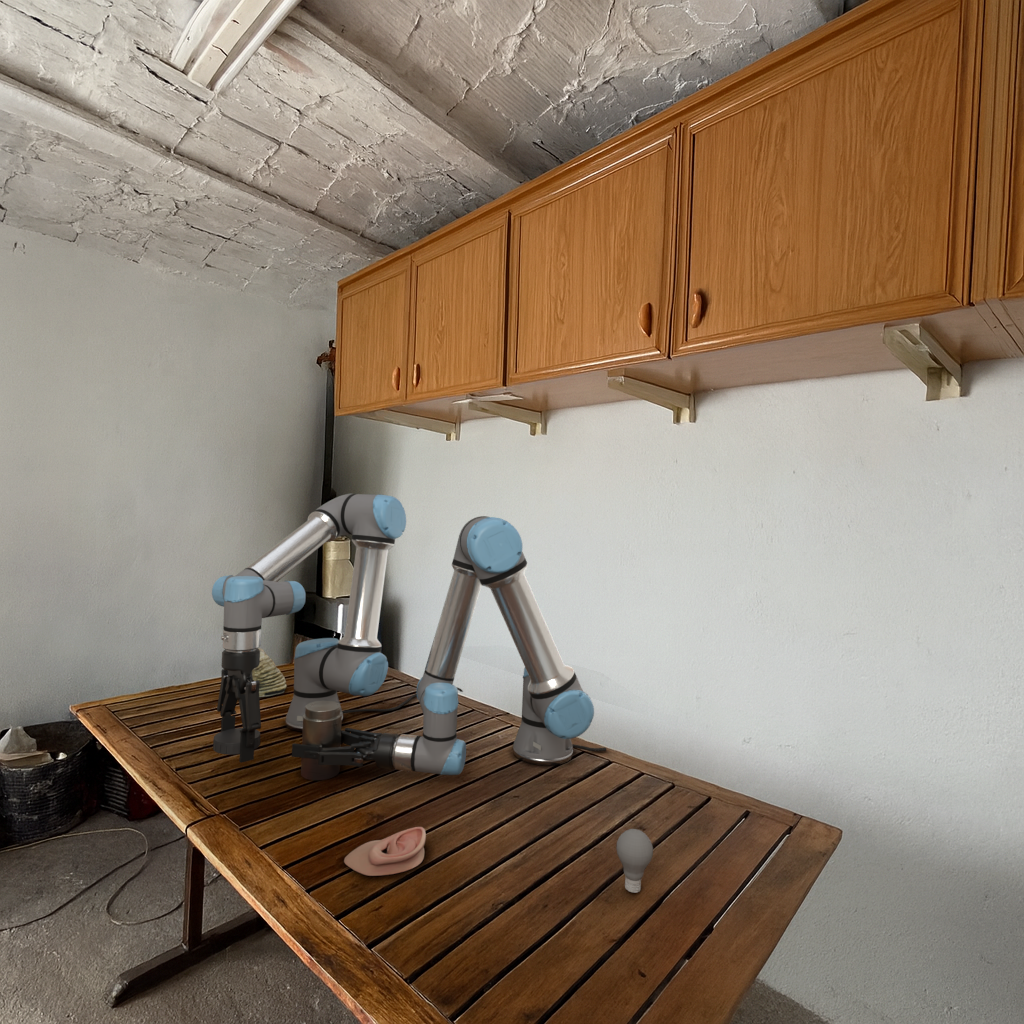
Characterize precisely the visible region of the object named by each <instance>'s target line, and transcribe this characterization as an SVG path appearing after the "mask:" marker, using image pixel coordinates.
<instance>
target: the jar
mask: <svg viewBox="0 0 1024 1024" xmlns="http://www.w3.org/2000/svg"><path fill="white" fill-rule="evenodd" d="M340 708H341V709H342V706H341V703H340V704H339V703H338V702H335V701H316V702H312V703H309V704H307V705H306V707H305V714H304V715H303V732H302V738H301V739H302V740H301V744H305V745H315V746H320V745H322V748H333V747H342V746H341V745H342V744H341V730H342V723H343V722H342V713H341V712H340ZM341 722H342V723H341ZM300 761H301V763H300V764H301V765H300V768H301V769H300V775H301V777H302V778H303V779H306V780H309V781H325V780H330V779H332V778H334V777H336V776H338V775H339V773H340V769H341V765H318V759H309V758H301V760H300Z"/></svg>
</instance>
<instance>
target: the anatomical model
mask: <svg viewBox="0 0 1024 1024" xmlns="http://www.w3.org/2000/svg"><path fill="white" fill-rule="evenodd" d="M426 839H427V834H426V829H425V827H423V826H415V827H411V828H407V829H404V830H401V831H398V832H396V833H394V834H392V835H389V836H387V837H385V838H383V839H376V840H370V841H368V842H365V843H363V844H361V845H359V846H357V847H356V848H355V849H353V850H352V851H350V852H349V853H348V854H347V855H346V856H345V857H344V859H343V863H344V865H346V866H347V867H348V868H350V869H352V870H353V871H355V872H356V873H359V874H361V875H364V876H369V877H377V876H389V875H394V874H395V875H396V874H399V873H403V872H407V871H409V870H412V869H414V868H416V867H418V866H419V865H421V863H422V862H423V860H424V859H425V848H424V846H425V844H426Z"/></svg>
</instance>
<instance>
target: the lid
mask: <svg viewBox="0 0 1024 1024" xmlns="http://www.w3.org/2000/svg"><path fill="white" fill-rule="evenodd" d="M241 729H243V727H235V729H229V730H225V731H222V732H221V731H219V732H218V733H216V734H214V735H213V741H212V750H213V752H215V753H217V754H221V755H231V756H232V755H240V736H241V733H240V730H241ZM260 745H261V732H260V731H259V729H256V730H255V742H254V751H255V750H257V749H258V748H259V747H260Z"/></svg>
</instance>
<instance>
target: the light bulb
mask: <svg viewBox="0 0 1024 1024" xmlns="http://www.w3.org/2000/svg"><path fill="white" fill-rule="evenodd" d="M615 849H616V854H617V857H618V859H619V861H620V863H621V865H622V867H623V873H624V874H623V875H624V876H625V878H624V888H625V890H627V891H628V892H630V893H634V894H635V893H639V892H640V891H641V889H642V887H641V886H642V879H643V877H644V875H645V871H646V868H647V867H648V866H649V864H650V863H651V861H652V859H653V855H654V847H653V843H652V841H651V838H649V836H648V835H647V834H646V833H645V832H643V831H642V830H641V829H636V828H629V829H627V830H625V831H623V832H622V833H621V834H620V835H619V837H618V839H617V841H616V847H615Z"/></svg>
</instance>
